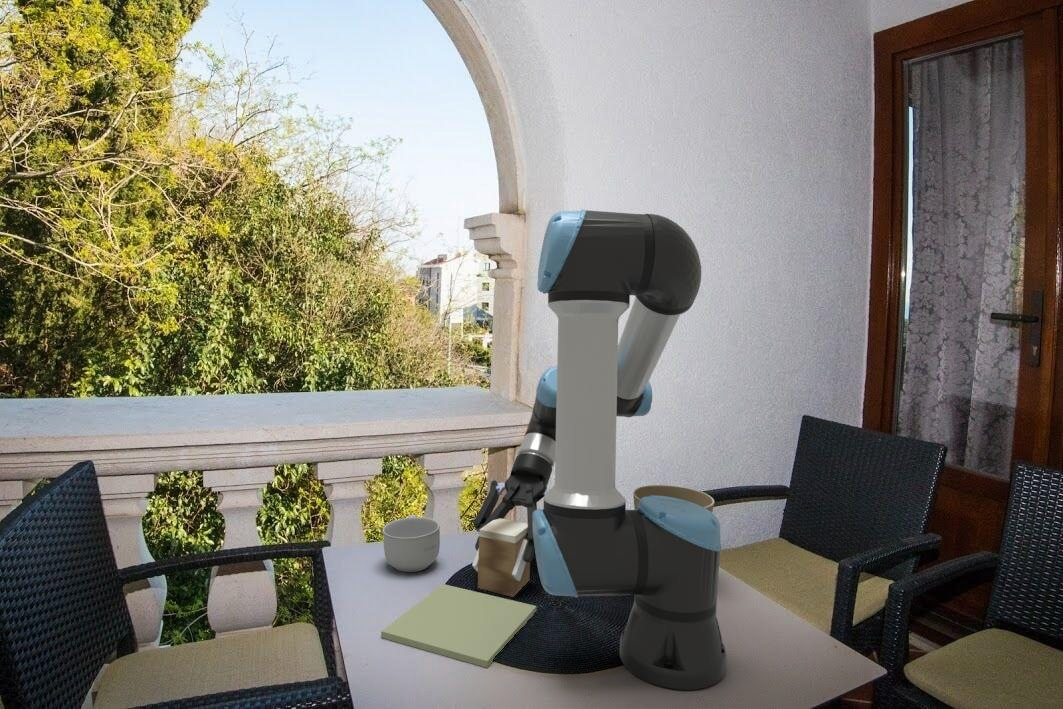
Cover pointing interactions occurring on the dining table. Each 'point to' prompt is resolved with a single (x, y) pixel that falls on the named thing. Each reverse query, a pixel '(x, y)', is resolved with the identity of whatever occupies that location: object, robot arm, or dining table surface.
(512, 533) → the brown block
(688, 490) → the plant pot
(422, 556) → the teacup
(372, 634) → the dining table surface
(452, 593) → the olive mat
